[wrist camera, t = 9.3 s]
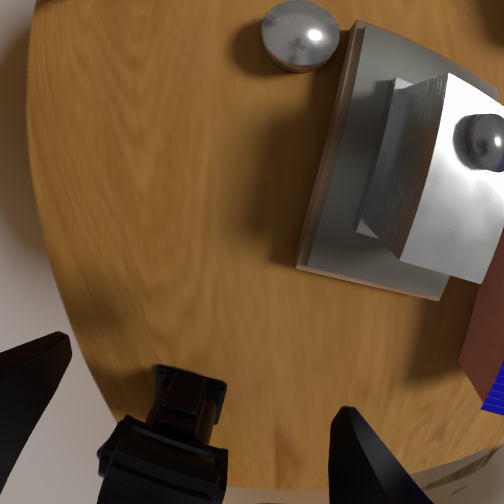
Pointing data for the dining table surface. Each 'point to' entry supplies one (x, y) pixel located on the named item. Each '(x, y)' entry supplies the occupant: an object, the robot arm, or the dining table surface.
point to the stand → (367, 163)
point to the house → (487, 337)
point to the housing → (437, 177)
